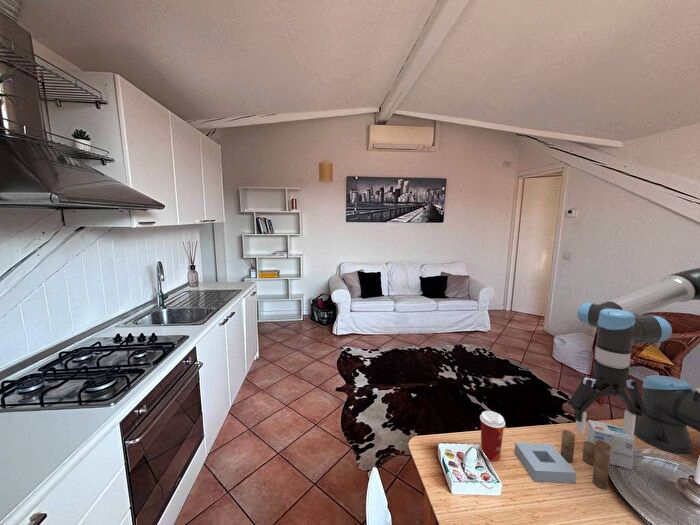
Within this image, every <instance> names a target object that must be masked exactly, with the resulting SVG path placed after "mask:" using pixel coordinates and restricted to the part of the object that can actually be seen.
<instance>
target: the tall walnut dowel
mask: <svg viewBox="0 0 700 525" xmlns="http://www.w3.org/2000/svg"><path fill="white" fill-rule="evenodd" d="M610 454H611V446H610V445H609V444H608V443H606V442H604V441H600V440H597V441H596V447H595V458H594V466H593V470H592V471H593V472H592V484H593V485H594V486H595V487H596V488H598V489H599V490H603V491H604V490H605V491H606V490H607V489H608V483H609V474H610V473H609V472H610V465H611V464H610Z"/></svg>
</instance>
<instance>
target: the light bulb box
mask: <svg viewBox="0 0 700 525" xmlns="http://www.w3.org/2000/svg"><path fill="white" fill-rule="evenodd" d="M587 421H588V422H587V423H588V424H587V433H586V434H587V435H586V441H588V442H591V443H594V444H595V445H596V441H597V440H600V441H604V442H606V443H608V444H609V445H610V446H611V454H610V464H609V465H611V464H613V465H612V466H615V465H617V466H616V467H618V466H621V467H620V468H622V467H624V468H623V469H626V468H627V470H631V471H632V470H633V465H634V455H635V446H636V444H635V442H636V438H635V437H631V436H629V435H628V434H627V433H626V432H624V431H623V426H621V425H615V424H610V423H605V422H602V421H596V420H592V419H588V420H587Z"/></svg>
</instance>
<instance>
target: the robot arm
mask: <svg viewBox="0 0 700 525" xmlns="http://www.w3.org/2000/svg"><path fill="white" fill-rule="evenodd" d="M689 301H700V267H695V268H691V269H687V270H682V271H678V272H675V273H672V274H670V275H669V274H668V275H667V276H664V277H663V278H662V279H661V280H660V281H659V282H656V283H654V284H651V285H648V286H645V287H643V288H640V289H637V290H634V291H632V292H629V293H626V294H623V295H621V296H618V297H616V298H613V299H610V300H608V301H605V302H601V303H598V304H596V303H595V302H593V303H592V302H584V303H582V304H581V305H580V306H579V307H578V309H577V318H578V320H579V321H580V322H581V323H583V324H585V325H589V326H590V327H593V328H597V329H596V330H597V331H596V332H597V334H596V344H595V350H594V352H595V353H594V361H593V371H592V372H593V375H594V376H593V377H592V378H589V377H587V376H585V375H583V376H582V377H581V380H580V383H579V385H578V387H577V388H576V390H575V391H574V393H573V394H572V396H571V397H570V398H569V401H568V402H567V405H568V406H570V407H571V409H573V410H574V413H573V418H574V420H575V426H574V427H575V429H576V430H577V431H578V432H579V433H580V434H582V435H585V434H586V433H585V432H586V423H587V414H588V413H587V412H586V410H588V408H590V406H591V405H593V403H595V402H596V401H598V399H599V398H602V397H604V396H613V397H619V400H620V401H621V402H622V403H623V404H624V405H625V407H626V408H627V409H625V410H624V414H623V415H624V416H623V423H622V424H623V426H622V427H623V431H624V432H626V433H627V434H628V435H629V436H631V437H634V436H636V437H638V438H639V439H640V440H642V441H643V442H645V443H647V444H649V445H651V446H652V447H655V448H658V449H661V450H664V451H666V452H668V453H669V452H670V453H674V454H680V455H681V454H682V455H685V454H687V455H688V454H690V453H691V452H692V450H693V442H692V440H691V437H690V433H689V429H688V427H689V428H691V429H693V430H695V431H697V432H699V433H700V387H696V388H695V391H694V390H693V387H692V384H691V383H690V382H688V381H687V380H684V379H681V378H677V377H672V376H666V375H657V374H656V375H655V374H653V375H647V376H645V377H644V379H643V383H642V390H641V393H640V392H639V383H638V382H637V381H635V380H633V379H632V378H629V372H630V368H629V367H630V365H631V355H632V346H633V344H644V343H645V344H647V343H651V344H653V343H654V344H656V343H660V342H665V341H668V340H669V339H670V338H671V336H672V334H673V328H672V326H671V324H670V322H668V321H667V320H666V319H665V318H663V317H661V316H658V315H651V314H648V313H649V312H653V311H655V310H656V311H657V310H658V309H661V308H664V307H667V306H669V305H672V304H674V303H677V302H678V303H679V302H680V303H686V302H689ZM644 314H645V315H644ZM646 314H648V315H646ZM625 388H626V389H627V392H628V394H627V393H626V391H625V390H624V389H625ZM628 395H629V396H630V397H629V396H628ZM687 426H688V427H687ZM634 438H635V437H634Z"/></svg>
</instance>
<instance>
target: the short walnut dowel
mask: <svg viewBox="0 0 700 525" xmlns="http://www.w3.org/2000/svg"><path fill="white" fill-rule="evenodd" d="M595 447H596V445H595V444H594V443H591V442H588V441H587V440H586V441H584V442H583V451H582V461H583V463H585V464H586V465H589V466H591V467H594V458H595Z"/></svg>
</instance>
